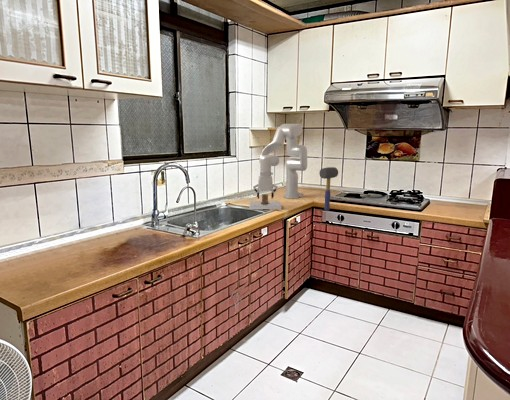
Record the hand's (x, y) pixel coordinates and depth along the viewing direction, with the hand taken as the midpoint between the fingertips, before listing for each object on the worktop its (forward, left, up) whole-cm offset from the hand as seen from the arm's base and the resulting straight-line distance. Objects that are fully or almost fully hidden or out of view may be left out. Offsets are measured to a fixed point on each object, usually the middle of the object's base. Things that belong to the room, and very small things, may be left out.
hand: (265, 198), depth 254 cm
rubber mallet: (-42, +10, -7) cm, 44 cm away
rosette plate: (0, 0, -6) cm, 6 cm away
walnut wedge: (0, 0, -7) cm, 6 cm away
